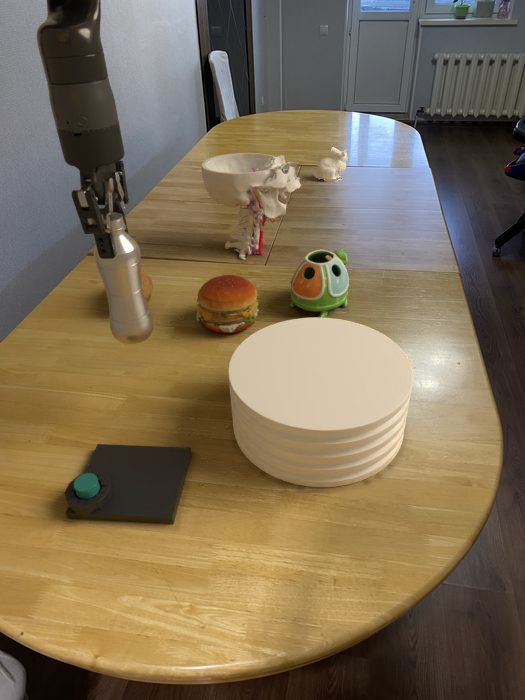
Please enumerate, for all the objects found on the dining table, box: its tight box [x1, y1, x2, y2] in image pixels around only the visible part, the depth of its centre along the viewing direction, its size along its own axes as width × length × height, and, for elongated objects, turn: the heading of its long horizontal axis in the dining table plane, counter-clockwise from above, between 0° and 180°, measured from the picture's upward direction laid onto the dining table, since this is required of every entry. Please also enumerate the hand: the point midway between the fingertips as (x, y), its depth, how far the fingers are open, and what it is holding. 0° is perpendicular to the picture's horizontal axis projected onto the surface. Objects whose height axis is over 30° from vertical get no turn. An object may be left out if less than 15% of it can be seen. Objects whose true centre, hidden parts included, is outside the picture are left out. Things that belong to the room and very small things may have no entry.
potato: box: [141, 268, 154, 303], centre depth 117 cm, size 10×14×8 cm
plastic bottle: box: [93, 212, 154, 345], centre depth 77 cm, size 6×7×20 cm
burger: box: [196, 274, 260, 334], centre depth 109 cm, size 14×14×10 cm
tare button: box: [74, 473, 100, 499], centre depth 72 cm, size 3×3×2 cm
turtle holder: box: [289, 248, 350, 318], centre depth 114 cm, size 12×18×12 cm
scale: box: [64, 443, 193, 525], centre depth 75 cm, size 16×13×3 cm
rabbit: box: [313, 146, 349, 183], centre depth 184 cm, size 12×9×12 cm
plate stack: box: [227, 317, 414, 488], centre depth 83 cm, size 28×28×12 cm
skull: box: [201, 152, 302, 261], centre depth 136 cm, size 25×19×23 cm
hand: (114, 247), depth 73 cm, fingers closed on plastic bottle, 5 cm apart
